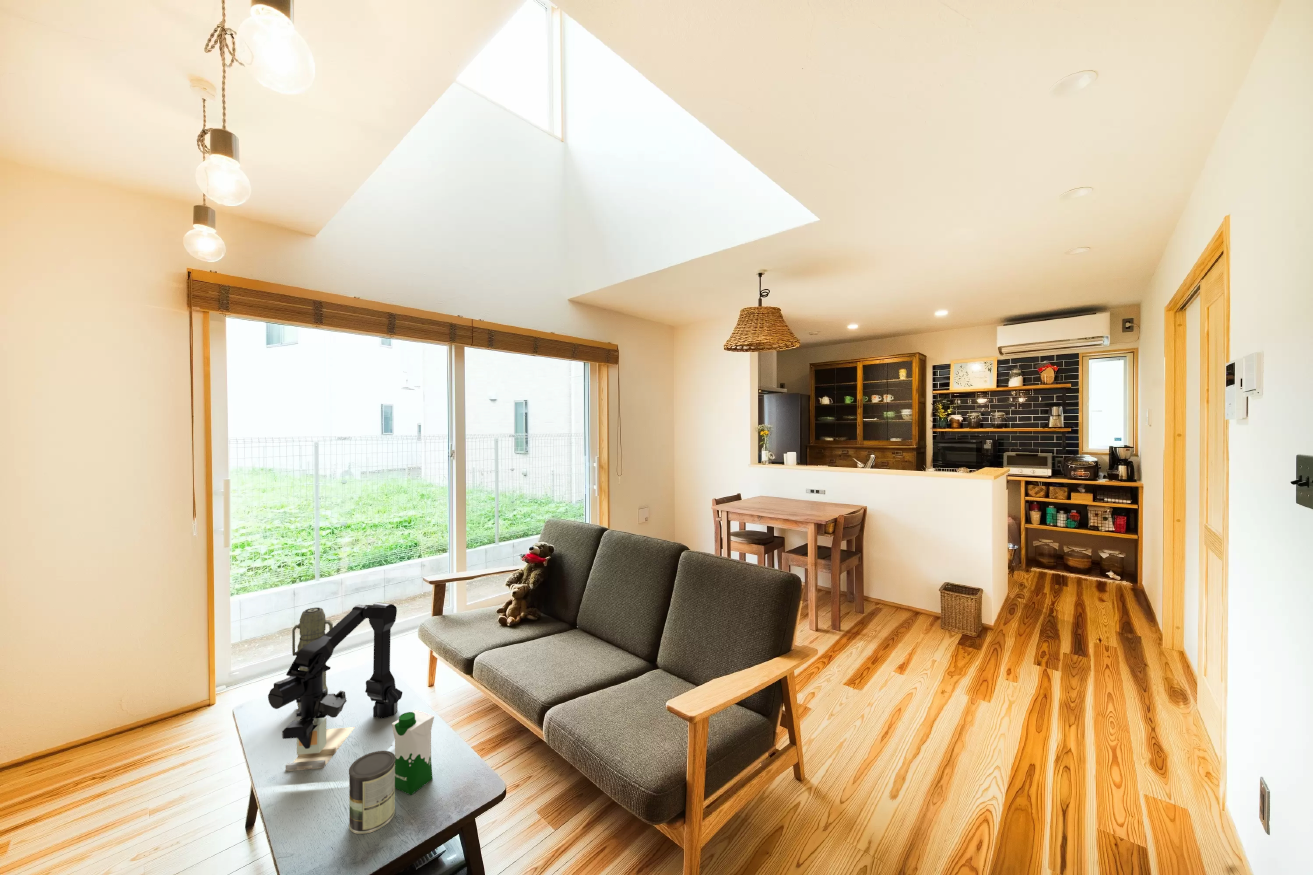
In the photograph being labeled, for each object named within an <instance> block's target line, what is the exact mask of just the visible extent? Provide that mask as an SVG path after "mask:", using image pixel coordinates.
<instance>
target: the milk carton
mask: <svg viewBox="0 0 1313 875" xmlns="http://www.w3.org/2000/svg"><path fill="white" fill-rule="evenodd" d="M434 719H435V715H433V714H429V713H427V712H425V711H420V710H417V709H415V710H413V711H407V712H404V713H402V714H401V715H399V717H398V719H397V720H395V721H394V722H392V723H391V728H392V733H393V738H394V755H395V790H399V791H401V792H403V793H404V794H408V795H409V796H413V795H414V794H415V793H416V792H418V790H420V789H421V788H423V787H424V786H426V785H427V784H428V783H429V782H430V781H432V780H433V766H432V765H433V764H432V727H433V724H434Z"/></svg>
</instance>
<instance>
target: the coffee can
mask: <svg viewBox="0 0 1313 875" xmlns="http://www.w3.org/2000/svg"><path fill="white" fill-rule="evenodd" d="M348 776H349V777H348V779H349V780H348V783H349V785H348V788H349V789H348V792H349V794H348V795H349V796H348V797H349V804H348V805H349V809H348V810H349V813H348V814H349V816H348V817H349V820H348V829H349V830H350V831H351V832H352V833H354V834H357V835H365V834H370V833H373V832H376V831H378V830H380V829H382V828H383V827H385V826H386V825H387V824H389V822H391V821H392V819H393V818H394V816H395V814H396V808H395V806H396V804H395V803H396V802H395V800H396V796H395V793H396V792H395V791H396V788H395V753H393V752H392V751H388V750H377V751H373V752H369V753H367V754H364V755H362V756H360V757H358V758H357V759H356V760H355V761H353V762H352V763H351V764H350V766H349V769H348Z"/></svg>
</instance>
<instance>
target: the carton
mask: <svg viewBox="0 0 1313 875" xmlns="http://www.w3.org/2000/svg"><path fill="white" fill-rule="evenodd" d="M314 725H318V726H317V727H316V728H315V729H314V730H313V731H312V738H311V745H310V748H309V749H305V748H304V746H303V745H302V743H301V742H300V741H299V739H298V738H296V755H297V756H298V754H311V753H320V751H321V750H322V749H323V748H324V747H325V745H326V729H327V717H325V718H314Z"/></svg>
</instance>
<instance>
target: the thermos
mask: <svg viewBox="0 0 1313 875" xmlns="http://www.w3.org/2000/svg"><path fill="white" fill-rule="evenodd" d="M326 625H327V626H329V627H328V628H329V630H328V631H330V630H331V629H332V628H333V627H334V623H333V622H332V621H331V620H330V619H329V620H327V619H326V613H325V612H324V608H322V607H310V608H307V609H305V610H303V611H302V613H301V614H300V618H299V623H298V624H295V625H294V626H293V628H292V630H291V631H292V632H291V634H292V636H291V637H292V640H291V641H292V642H291V643H292V647H291V648H292V650H291V651H292V652H291V653H292V656H296V654H297V653H298V652H299V650H300V649H302V648H303V647H305V646H306V645H307V644H309V643H310V642H312V641H315V640H317V639H320V638H321V637H323V636H324V635H325V634H326ZM297 629H298V630H299V635H300V636H299V641H298V645H297V650H296V630H297ZM325 665H327V662H326V663H325ZM298 670H303V671H307V670H309V669H306V668H302V667H300V668H299V669H298ZM325 689H326V691H327V694H329V688H328V686H327V671H325V672H323V690H325ZM296 704H297V709H298V711H299V710H300V703H296Z"/></svg>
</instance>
